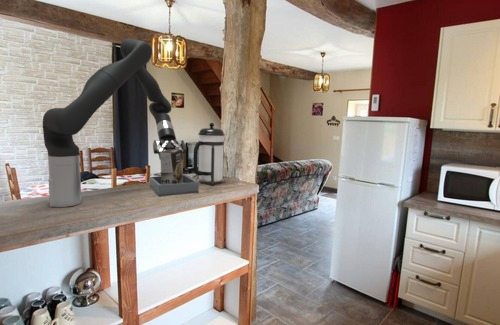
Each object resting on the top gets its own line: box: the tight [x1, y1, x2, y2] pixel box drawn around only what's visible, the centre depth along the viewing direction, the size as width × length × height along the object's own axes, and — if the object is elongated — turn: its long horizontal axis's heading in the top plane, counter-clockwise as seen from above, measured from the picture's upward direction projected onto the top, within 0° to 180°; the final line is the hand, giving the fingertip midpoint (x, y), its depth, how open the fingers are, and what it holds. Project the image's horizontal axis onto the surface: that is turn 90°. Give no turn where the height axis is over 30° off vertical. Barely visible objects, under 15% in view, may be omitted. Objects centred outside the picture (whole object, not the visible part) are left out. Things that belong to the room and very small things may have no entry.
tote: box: [149, 174, 199, 197], centre depth 129 cm, size 17×19×4 cm
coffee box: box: [159, 149, 184, 185], centre depth 128 cm, size 9×6×16 cm
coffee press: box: [192, 122, 226, 186], centre depth 143 cm, size 17×16×30 cm
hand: (172, 159), depth 129 cm, fingers open, 8 cm apart
